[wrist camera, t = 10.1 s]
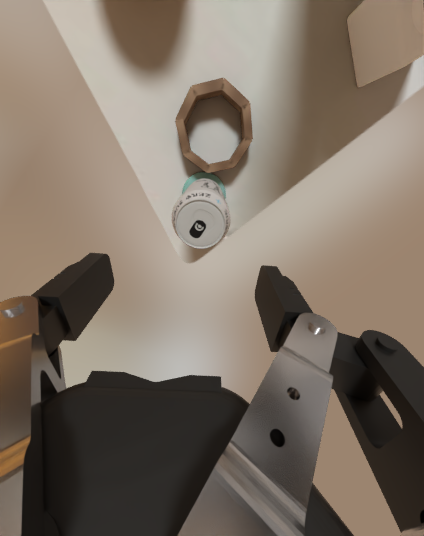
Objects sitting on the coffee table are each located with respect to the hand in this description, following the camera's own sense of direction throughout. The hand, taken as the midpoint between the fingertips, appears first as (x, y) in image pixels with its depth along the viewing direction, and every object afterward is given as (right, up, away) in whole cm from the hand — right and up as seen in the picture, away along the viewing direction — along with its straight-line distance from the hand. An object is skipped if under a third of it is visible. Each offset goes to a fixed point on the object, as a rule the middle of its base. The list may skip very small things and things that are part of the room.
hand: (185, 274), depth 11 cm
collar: (+2, +20, +17) cm, 26 cm away
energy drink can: (0, +12, +21) cm, 24 cm away
